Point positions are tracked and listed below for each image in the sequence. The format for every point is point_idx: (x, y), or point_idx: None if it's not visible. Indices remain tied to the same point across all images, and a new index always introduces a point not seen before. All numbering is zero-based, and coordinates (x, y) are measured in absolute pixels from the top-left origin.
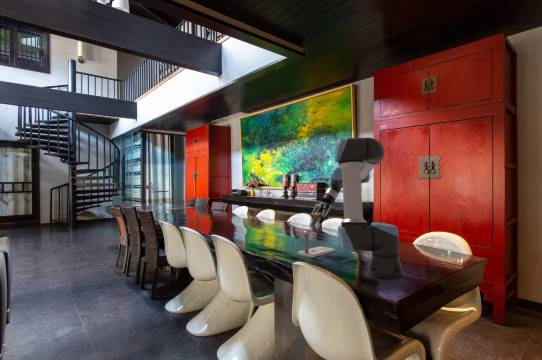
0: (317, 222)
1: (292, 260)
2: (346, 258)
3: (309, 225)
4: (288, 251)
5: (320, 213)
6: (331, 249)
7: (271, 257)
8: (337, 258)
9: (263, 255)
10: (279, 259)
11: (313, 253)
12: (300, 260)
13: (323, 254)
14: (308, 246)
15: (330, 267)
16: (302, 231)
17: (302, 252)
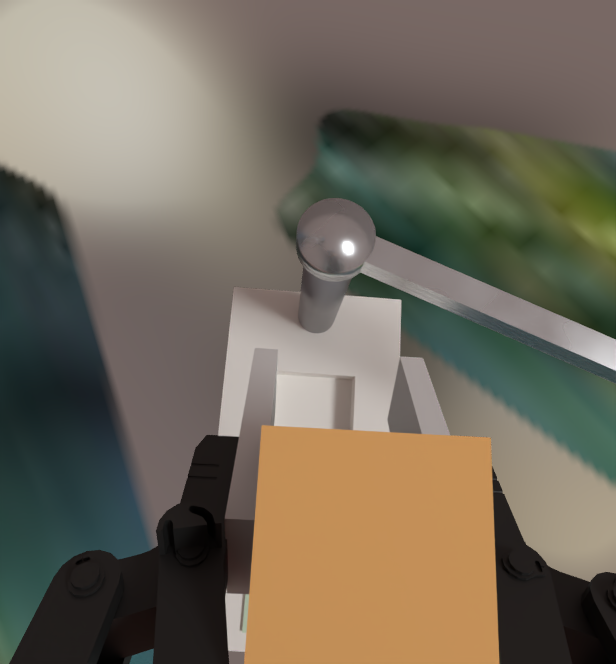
0: (255, 403)
1: (338, 195)
2: (25, 524)
3: (400, 358)
4: (568, 394)
5: (249, 600)
6: None
7: (509, 166)
8: (92, 470)
9: (595, 171)
10: (426, 160)
11: (253, 332)
12: (294, 229)
13: None
14: (302, 308)
15: (19, 214)
16: (415, 259)
17: (349, 301)
